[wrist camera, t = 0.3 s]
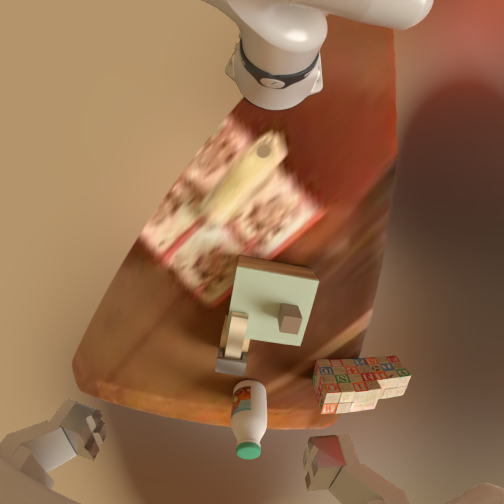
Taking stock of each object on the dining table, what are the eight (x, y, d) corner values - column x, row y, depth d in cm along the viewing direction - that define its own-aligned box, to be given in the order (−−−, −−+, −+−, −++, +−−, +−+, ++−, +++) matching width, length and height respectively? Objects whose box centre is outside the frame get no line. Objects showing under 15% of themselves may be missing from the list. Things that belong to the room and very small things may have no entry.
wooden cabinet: (236, 254, 54) (231, 272, 42) (310, 267, 54) (324, 289, 43) (220, 348, 59) (213, 381, 47) (285, 358, 59) (290, 392, 48)
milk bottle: (263, 376, 60) (266, 441, 41) (267, 399, 62) (271, 462, 43) (230, 380, 61) (223, 444, 41) (236, 402, 63) (232, 464, 43)
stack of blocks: (396, 354, 59) (417, 383, 47) (389, 374, 61) (408, 403, 49) (315, 359, 59) (326, 393, 47) (311, 379, 61) (320, 415, 49)
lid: (237, 264, 47) (235, 275, 41) (317, 279, 48) (326, 291, 42) (225, 331, 50) (222, 349, 44) (299, 343, 50) (304, 361, 45)
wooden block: (232, 311, 48) (231, 316, 46) (248, 314, 48) (248, 319, 46) (225, 353, 50) (224, 359, 48) (239, 355, 50) (239, 361, 48)
